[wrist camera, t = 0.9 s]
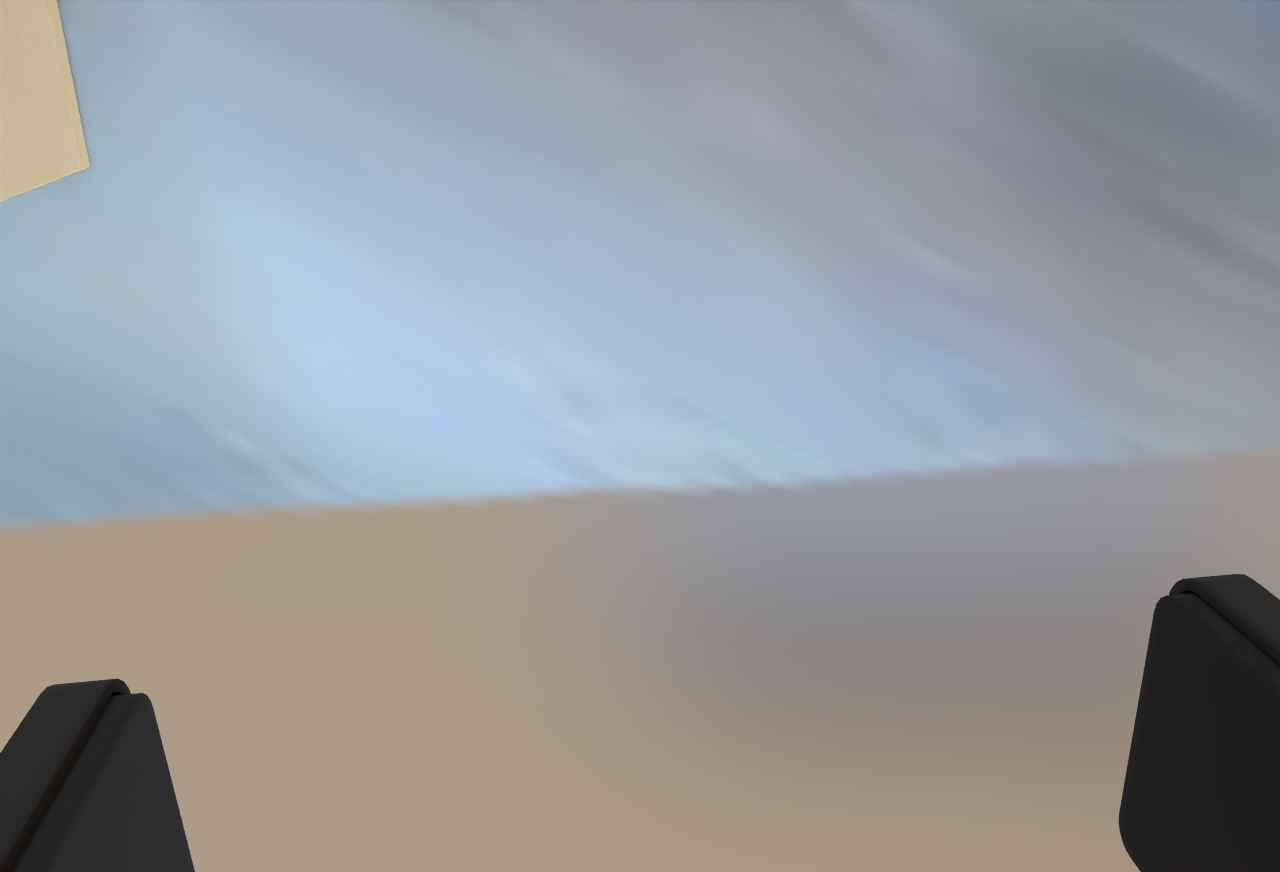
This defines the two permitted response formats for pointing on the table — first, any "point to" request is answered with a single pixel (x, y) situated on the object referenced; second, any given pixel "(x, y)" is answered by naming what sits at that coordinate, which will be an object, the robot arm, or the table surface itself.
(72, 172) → the chest
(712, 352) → the table surface
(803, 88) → the table surface
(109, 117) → the table surface
